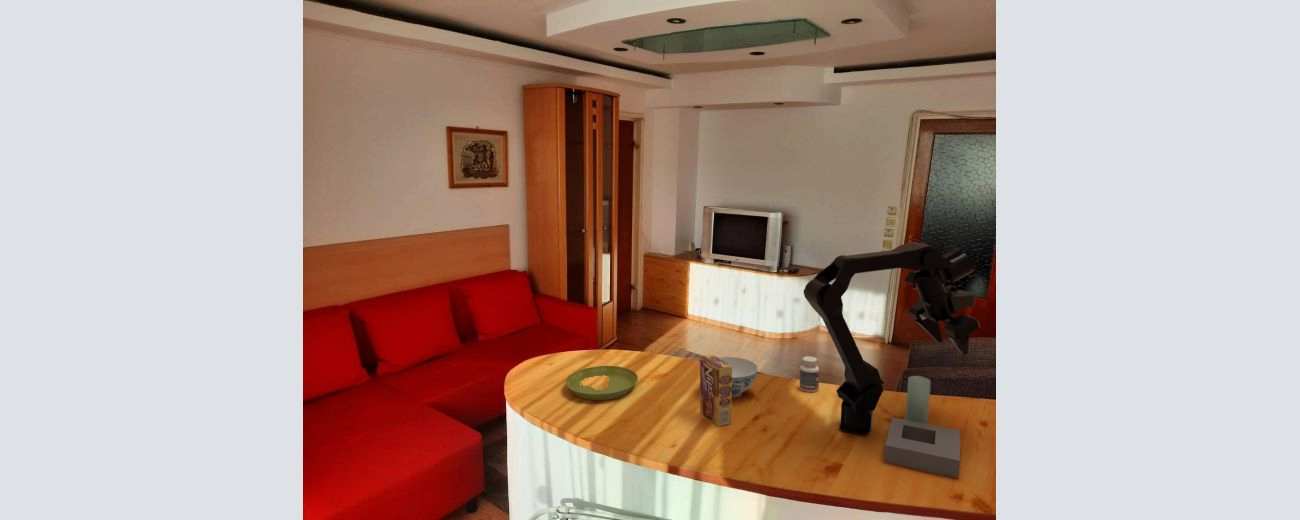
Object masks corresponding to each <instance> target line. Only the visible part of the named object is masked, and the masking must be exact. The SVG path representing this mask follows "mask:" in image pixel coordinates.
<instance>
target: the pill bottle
mask: <svg viewBox="0 0 1300 520" xmlns="http://www.w3.org/2000/svg"><path fill="white" fill-rule="evenodd" d="M819 384H820V367H819V366H818V358H817V357H815V356H810V355H809V356H804V357H802V364H801V365H800V366H799V384H798V385H799V386H798V387H799V389H800V390H801V391H803V392H806V393H816V392H817V391H818V390H819Z"/></svg>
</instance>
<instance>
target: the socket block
mask: <svg viewBox="0 0 1300 520" xmlns="http://www.w3.org/2000/svg"><path fill="white" fill-rule="evenodd" d="M888 429H889V430H888V433H887V437H886V440H885V441H886V442H885V446H884V448H885V449H884V459H883V461H884V463H887V464H891V465H895V466H896V465H897V466H901V467H904V468H909V469H914V470H918V471H922V472H927V473H932V474H936V475H940V476H945V477H948V478H949V477H950V478H954V479H959V476H960V475H959V474H960V467H961V466H960V463H961V433H960V432H961V430H960V429H955V428H950V427H945V426H940V425H934V424H928V423H927V424H924V423H919V422H914V421H908V420H905V419H903V418H897V417H891V420H890V425H889V428H888Z"/></svg>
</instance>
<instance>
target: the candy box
mask: <svg viewBox="0 0 1300 520" xmlns="http://www.w3.org/2000/svg"><path fill="white" fill-rule="evenodd" d="M699 362H700V363H699V365H700V366H699V367H700V369H699V373H700V374H699V414H701V416H703V417H705V418H706V419H707V420H709V421H710V422H711V423H712V424H714V425H715V426H716V427H722V426H727V425H731V424H732V399H733V398H732V365H730V364H728V363H726V362H724V361H723V360H721V359H719V358H718V356H715V355H714V354H709V355H705V356H701V357H700V359H699Z"/></svg>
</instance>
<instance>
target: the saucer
mask: <svg viewBox="0 0 1300 520" xmlns="http://www.w3.org/2000/svg"><path fill="white" fill-rule="evenodd" d="M603 375H605V376H608V377H609V380H610V381H608V382H609V383H608V382H607V383H608V387H606V388H604V387H603V388H604V389H603V390H602V389H601V390H600V389H599V390H595V389H594V388H592V387H590V386H589V387H588V386H587V385H586V386H585V385H584V386H585V387H584V386H583V384H582V383H581V384H582V385H580V382H581V381H582V380H584V379H585V378H589V377H594V376H603ZM638 376H639V375H638V374H637V373H636V371H634V370H632V369H630V368H627V367H624V366H617V365H598V366H597V365H596V366H592V367H591V366H589V367H586V368H582V369H580V370H577V371H574V372H573V373H571V374H570V375H568V377H567V378H566V379H565V386H566V387H567V389H568V390H569V391H570V392H571V393H572V394H574V396H577V397H579V398H582V399H585V400H588V399H589V401H608V400H612V399H613V398H614V399H617V398H620V397H622V396H624V395H625V394H627V393H629V392H630V391H631V390H632V389H633V388H634V387H635V385H636V384H637V382H638V381H639V377H638ZM608 377H607V378H608ZM591 386H592V385H591ZM597 389H598V388H597ZM607 399H608V400H607Z"/></svg>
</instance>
